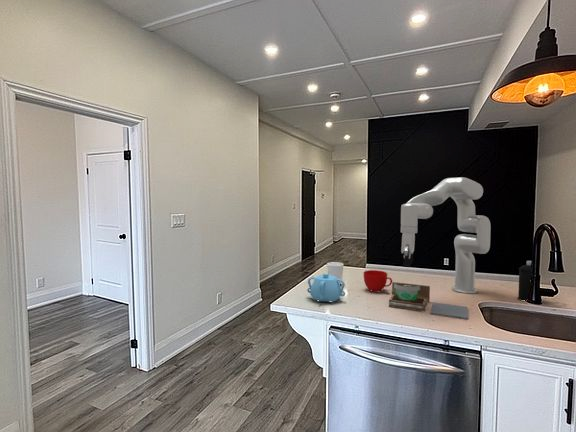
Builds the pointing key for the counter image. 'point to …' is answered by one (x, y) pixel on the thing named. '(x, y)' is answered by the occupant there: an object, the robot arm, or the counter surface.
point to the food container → (406, 293)
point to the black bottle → (524, 281)
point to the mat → (449, 310)
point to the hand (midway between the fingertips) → (408, 264)
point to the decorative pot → (326, 288)
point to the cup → (335, 269)
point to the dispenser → (420, 305)
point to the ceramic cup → (376, 280)
